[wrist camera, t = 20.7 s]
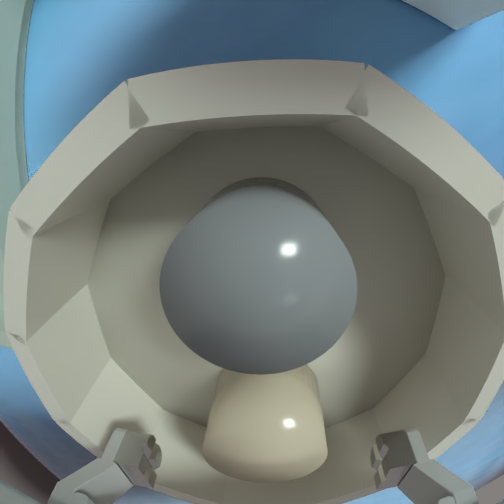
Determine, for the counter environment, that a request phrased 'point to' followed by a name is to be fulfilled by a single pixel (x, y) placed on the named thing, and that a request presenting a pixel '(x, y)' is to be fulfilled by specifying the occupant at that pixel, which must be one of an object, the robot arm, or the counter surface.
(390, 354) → the bowl
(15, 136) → the parts tray
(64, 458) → the counter surface
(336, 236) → the grey ball
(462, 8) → the jar
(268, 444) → the stone sand
